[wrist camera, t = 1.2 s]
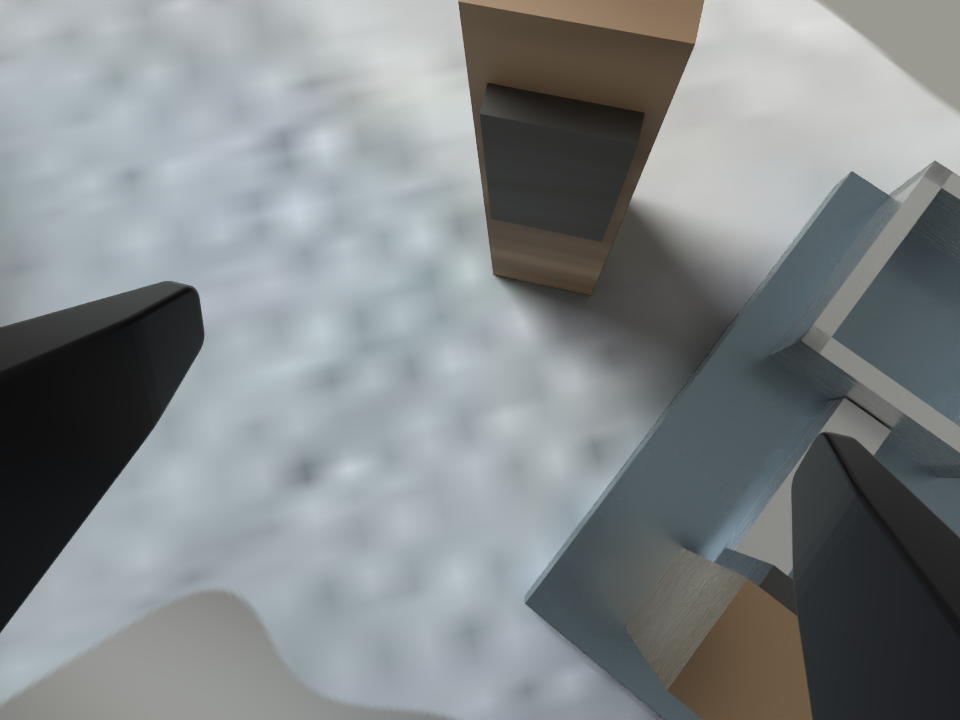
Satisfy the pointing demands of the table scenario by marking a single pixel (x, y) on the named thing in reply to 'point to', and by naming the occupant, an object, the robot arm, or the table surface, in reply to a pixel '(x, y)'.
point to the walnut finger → (568, 122)
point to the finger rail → (771, 457)
